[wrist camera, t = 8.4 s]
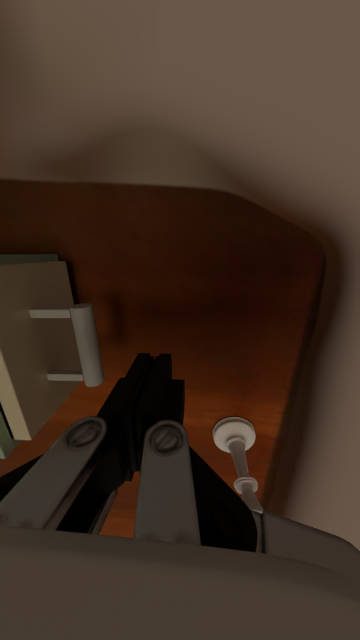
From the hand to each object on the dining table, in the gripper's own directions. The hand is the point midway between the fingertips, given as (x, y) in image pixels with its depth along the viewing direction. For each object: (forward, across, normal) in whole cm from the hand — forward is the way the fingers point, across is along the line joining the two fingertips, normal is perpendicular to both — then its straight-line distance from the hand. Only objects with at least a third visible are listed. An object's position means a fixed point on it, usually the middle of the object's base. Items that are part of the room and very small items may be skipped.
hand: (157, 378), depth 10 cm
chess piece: (+10, -7, +14) cm, 18 cm away
